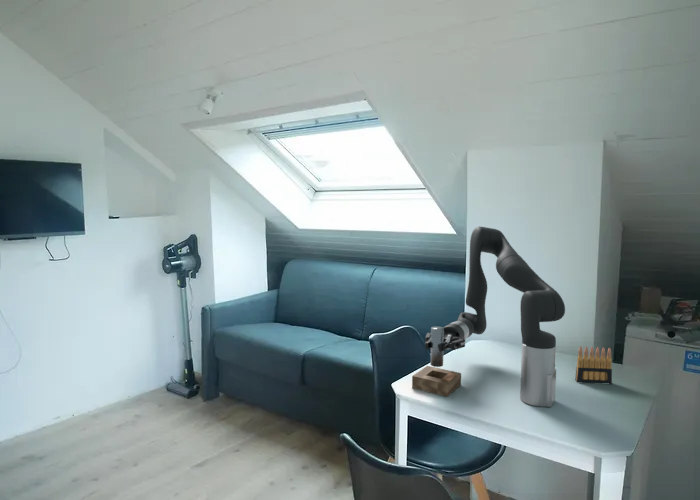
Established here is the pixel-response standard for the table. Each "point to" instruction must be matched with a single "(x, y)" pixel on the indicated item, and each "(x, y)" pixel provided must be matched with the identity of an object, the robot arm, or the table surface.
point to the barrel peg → (436, 346)
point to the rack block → (436, 380)
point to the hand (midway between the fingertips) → (433, 347)
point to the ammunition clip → (594, 367)
